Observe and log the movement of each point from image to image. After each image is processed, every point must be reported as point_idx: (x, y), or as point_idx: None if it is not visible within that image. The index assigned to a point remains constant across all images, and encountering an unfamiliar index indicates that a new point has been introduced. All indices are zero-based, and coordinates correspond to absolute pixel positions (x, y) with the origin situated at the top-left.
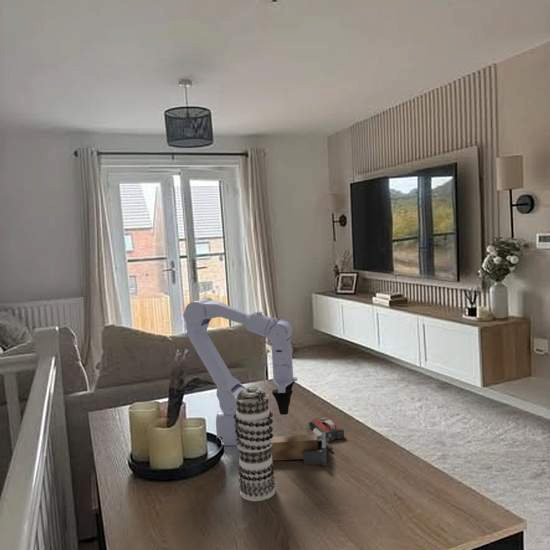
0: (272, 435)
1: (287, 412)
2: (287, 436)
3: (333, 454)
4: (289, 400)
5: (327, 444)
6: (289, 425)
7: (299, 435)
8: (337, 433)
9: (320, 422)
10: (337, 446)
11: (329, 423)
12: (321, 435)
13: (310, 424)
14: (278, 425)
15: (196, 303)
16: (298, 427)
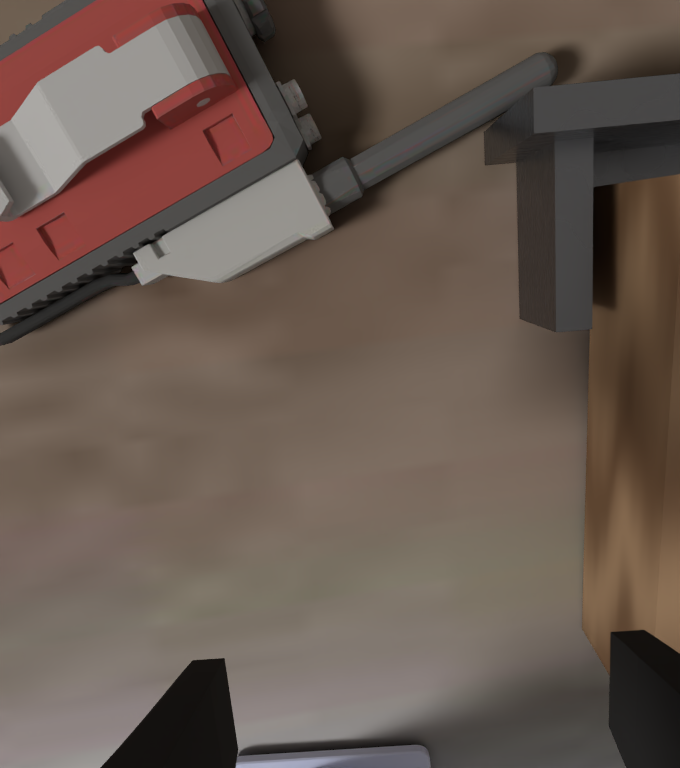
0: None
1: (671, 649)
2: (676, 501)
3: (581, 55)
4: (206, 708)
5: (484, 108)
6: (2, 513)
7: (674, 380)
8: (261, 7)
9: (41, 215)
10: (413, 27)
11: (157, 82)
12: (310, 183)
13: (22, 327)
14: (18, 599)
15: None
16: (32, 432)
